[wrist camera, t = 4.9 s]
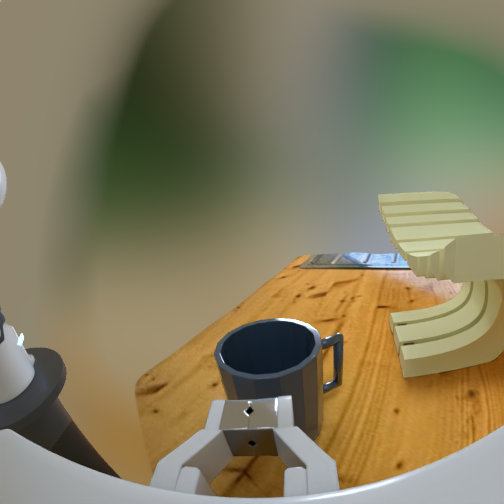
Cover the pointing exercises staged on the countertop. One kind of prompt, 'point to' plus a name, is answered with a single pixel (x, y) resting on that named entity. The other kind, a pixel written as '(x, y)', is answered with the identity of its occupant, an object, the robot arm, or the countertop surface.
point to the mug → (280, 366)
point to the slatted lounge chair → (444, 268)
